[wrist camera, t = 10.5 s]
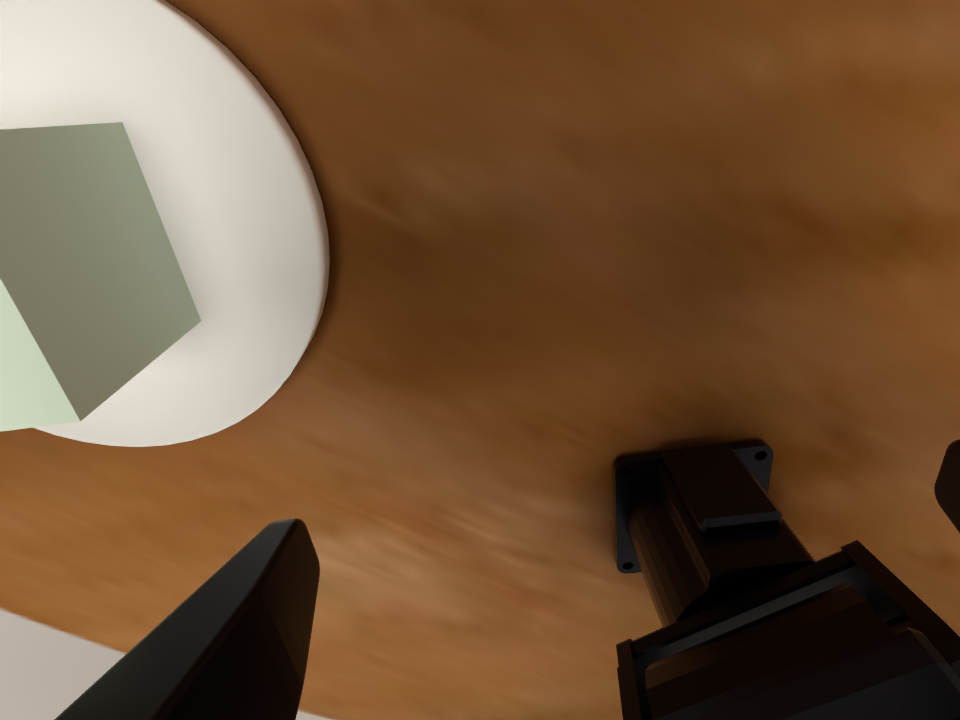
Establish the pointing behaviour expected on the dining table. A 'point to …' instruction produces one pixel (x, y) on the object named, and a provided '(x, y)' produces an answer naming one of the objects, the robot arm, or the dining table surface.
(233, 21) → the dining table surface
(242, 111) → the plate
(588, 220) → the dining table surface
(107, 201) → the sage cube
